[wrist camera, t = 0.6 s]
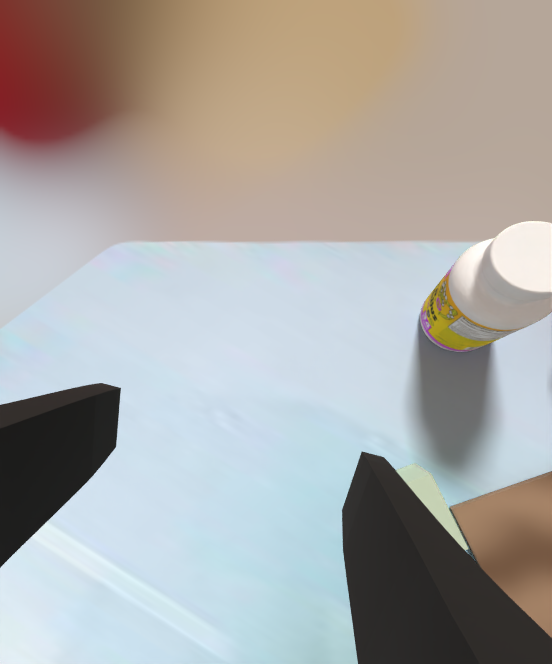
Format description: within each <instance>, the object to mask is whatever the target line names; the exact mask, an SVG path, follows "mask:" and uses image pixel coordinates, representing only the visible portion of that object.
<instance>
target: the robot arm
mask: <svg viewBox="0 0 552 664" xmlns="http://www.w3.org/2000/svg"><path fill="white" fill-rule="evenodd" d="M120 391H121V388H118V387H115V386H111V385H107V384H103V383H99V384H92V385H86V386H81V387H77V388H72V389H67V390H63V391H59V392H54V393H50V394H46V395H41V396H37V397H33V398H29V399H24V400H20V401H16V402H11V403H7V404H2V405H0V567H1V566H2V565H3V564H4V563H5V562H6V561H7V560H8V559H9V558H10V557H11V556H12V555H13V554H14V553H15V552H16V551H17V550H18V549H19V548H20V547H21V546H22V545H23V544H24V543H25V542H26V541H27V540H28V539H29V538H30V537H31V536H32V535H34V534H35V533H36V532H37V531H38V530H39V529H40V528H41V527H42V526H43V525H44V524H45V523H46V522H47V521H48V520H49V519H50V518H51V517H52V516H53V515H54V514H55V513H56V512H57V511H58V510H59V509H60V508H61V507H62V506H63V505H64V504H65V503H66V502H67V501H68V500H69V499H70V498H71V497H72V496H73V495H74V494H75V493H76V492H77V491H78V490H79V489H80V488H81V487H82V486H83V485H84V484H85V483H86V482H87V481H88V480H89V479H90V478H91V477H92V476H93V475H94V474H95V473H96V471H97V470H98V469H99V468H100V467H101V465H102V464H103V463H104V462H105V460H106V459H107V458H108V456H109V455H110V454H111V453H112V451H113V450H114V449H115V448H116V440H117V428H118V415H119V403H120ZM342 526H343V553H344V561H345V569H346V577H347V585H348V592H349V599H350V607H351V614H352V622H353V629H354V637H355V644H356V651H357V659H358V664H552V638H551V637H550V636H549V635H548V634H547V633H546V632H545V631H544V630H543V629H542V628H541V627H540V626H539V625H538V624H537V623H536V622H535V621H534V620H533V619H532V618H531V617H530V616H529V615H528V614H527V613H526V612H525V611H523V610H522V609H521V608H520V607H519V606H518V605H517V604H516V603H515V602H514V601H513V600H512V599H511V598H510V597H509V596H508V595H507V594H506V593H505V592H504V591H503V590H502V589H501V588H500V587H499V586H498V585H497V584H496V583H495V582H494V581H493V580H492V579H491V578H490V577H489V576H488V575H487V574H486V572H485V571H484V570H483V569H482V568H481V567H480V566H479V565H478V564H477V563H476V562H475V561H474V560H473V559H472V557H471V556H470V555H469V554H468V553H467V552H466V551H465V550H464V549H463V548H462V547H461V546H460V545H459V544H458V542H457V541H456V540H455V539H454V538H453V537H452V536H451V535H450V534H449V532H448V531H447V530H446V529H445V528H444V527H443V526H442V524H441V523H440V522H439V521H438V520H437V519H436V518H435V516H434V515H433V514H432V513H431V512H430V511H429V509H428V508H427V507H426V506H425V505H424V504H423V502H422V501H421V500H420V499H419V498H418V497H417V495H416V494H415V493H414V492H413V491H412V489H411V488H410V487H409V486H408V485H407V483H406V482H405V481H404V480H403V479H402V477H401V476H400V475H399V474H398V473H397V471H396V470H395V469H394V468H393V467H392V466H391V465H390V463H389V462H388V461H387V460H386V459H385V458H384V457H381V456H377V455H373V454H369V453H365V452H362V453H361V456H360V459H359V462H358V465H357V468H356V471H355V473H354V476H353V479H352V482H351V485H350V488H349V491H348V494H347V497H346V500H345V503H344V506H343V509H342Z"/></svg>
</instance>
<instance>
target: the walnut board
mask: <svg viewBox="0 0 552 664" xmlns="http://www.w3.org/2000/svg"><path fill="white" fill-rule="evenodd" d="M450 509H451V511H452V513H453V515H454V517H455V519H456V521H457V523H458V525H459V527H460V529H461V531H462V533H463V535H464V537H465V539H466V541H467V543H468V545H469V547H470V549H471V551H472V553H473V555H474V557H475V559H476V561H477V563H478V565H479V566H480V567H481V568H482V569H483V570H484V571H485V572H486V574H487V575H488V576H489V577H490V578H491V579H492V580H493V581H494V582H495V583H496V584H497V585H498V586H499V587H500V588H501V589H502V590H503V591H504V592H505V593H506V594H507V595H508V596H509V597H510V598H511V599H512V600H513V601H514V602H515V603H516V604H517V605H518V606H519V607H520V608H521V609H522V610H523V611H525V612H526V613H527V614H528V615H529V616H530V617H531V618H532V619H533V620H534V621H535V622H536V623H537V624H538V625H539V626H540V627H541V628H542V629H543V630H544V631H545V632H546V633H547V634H548V635H549V636H550V637H551V638H552V471H551V472H548V473H545V474H543V475H540V476H537V477H534V478H531V479H528V480H525V481H523V482H520V483H517V484H514V485H511V486H508V487H505V488H502V489H500V490H497V491H494V492H491V493H488V494H485V495H482V496H479V497H477V498H474V499H471V500H468V501H465V502H462V503H459V504H457V505H454V506H451V507H450Z"/></svg>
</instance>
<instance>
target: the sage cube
mask: <svg viewBox="0 0 552 664" xmlns="http://www.w3.org/2000/svg"><path fill="white" fill-rule="evenodd" d="M396 471H397V473H398V474H399V475H400V476H401V477H402V479H403V480H404V481H405V482H406V483H407V485H408V486H409V487H410V488H411V489H412V491H413V492H414V493H415V494H416V495H417V497H418V498H419V499H420V500H421V501H422V502H423V504H424V505H425V506H426V507H427V508H428V509H429V511H430V512H431V513H432V514H433V515H434V516H435V518H436V519H437V520H438V521H439V522H440V523H441V524H442V526H443V527H444V528H445V529H446V530H447V531H448V532H449V534H450V535H451V536H452V537H453V538H454V539H455V540H456V541H457V542H458V544H459V545H460V546H461V547H462V548H463V549H464V550H467V549H469V548H468V546H467V544H466V542H465V540H464V538H463V536H462V534H461V532H460V530H459V528H458V526H457V524H456V522H455V520H454V518H453V516H452V514H451V512H450V510H449V508H448V506H447V504H446V502H445V500H444V498H443V496H442V494H441V492H440V490H439V488H438V486H437V484H436V482H435V480H434V478H433V476H432V474H431V473H429V472H428V471H426V470H425V469H423V468H422V467H420V466H419V465H417V464H415V463H414V464H411V465H408V466H406V467H403V468H400V469H397V470H396Z"/></svg>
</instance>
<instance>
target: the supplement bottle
mask: <svg viewBox="0 0 552 664" xmlns="http://www.w3.org/2000/svg"><path fill="white" fill-rule="evenodd" d="M551 312H552V224H551V223H547V222H538V221H529V222H522V223H518V224H515V225H512V226H510V227H508V228H506V229H505V230H503V231H502V232H501V233H500V234H499V235H498V236H497V237H496V238H494V239H489V240H486V241H483V242H480V243H478V244H476V245H474V246H472V247H471V248H469V249H468V250H466V251H465V252H464V253H463V254H462V255H461V256H460V257H459V258H458V260H457V261H456V262H455V263H454V265H453V266H452V267H451V269H450V270H449V271H448V272H447V274H446V275H445V276H444V277H443V279H442V280H441V281H440V282H439V284H438V285H437V286H436V287H435V289H434V290H433V291H432V292H431V294H430V295H429V296H428V298H427V299H426V300H425V302H424V304H423V306H422V308H421V312H420V322H421V326H422V329H423V331H424V333H425V334H426V336H427V337H428V338H429V339H430V340H431V341H432V342H433V343H434V344H436V345H437V346H439V347H441V348H443V349H446V350H450V351H455V352H466V351H472V350H475V349H478V348H480V347H483V346H485V345H487V344H489V343H492V342H494V341H496V340H498V339H500V338H502V337H505V336H507V335H509V334H511V333H513V332H516V331H518V330H520V329H522V328H525V327H527V326H529V325H532V324H534V323H536V322H538V321H540V320H541V319H543V318H545V317H546V316H547V315H548V314H550V313H551Z"/></svg>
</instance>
